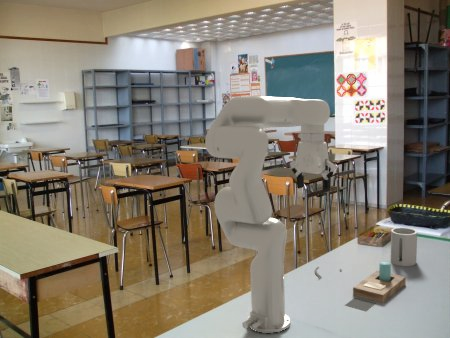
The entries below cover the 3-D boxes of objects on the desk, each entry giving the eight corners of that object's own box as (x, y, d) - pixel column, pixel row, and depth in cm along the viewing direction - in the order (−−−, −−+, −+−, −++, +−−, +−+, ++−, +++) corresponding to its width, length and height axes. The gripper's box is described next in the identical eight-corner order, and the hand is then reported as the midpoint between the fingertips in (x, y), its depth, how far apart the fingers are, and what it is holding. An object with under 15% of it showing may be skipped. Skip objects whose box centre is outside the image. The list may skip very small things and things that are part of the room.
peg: (387, 289, 165) (388, 266, 164) (377, 287, 168) (377, 264, 166) (392, 286, 168) (392, 263, 167) (381, 283, 170) (382, 261, 169)
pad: (366, 313, 150) (366, 311, 150) (344, 307, 154) (344, 305, 154) (376, 304, 155) (376, 302, 155) (355, 299, 159) (355, 297, 159)
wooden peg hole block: (382, 304, 155) (383, 294, 155) (353, 296, 162) (353, 286, 161) (405, 285, 168) (405, 276, 168) (377, 278, 175) (377, 269, 174)
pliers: (341, 266, 186) (344, 288, 167) (341, 269, 186) (344, 290, 167) (314, 266, 188) (314, 287, 168) (314, 268, 188) (315, 290, 168)
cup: (412, 257, 194) (413, 227, 192) (419, 266, 185) (420, 234, 183) (388, 257, 195) (388, 227, 193) (393, 266, 186) (394, 234, 184)
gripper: (283, 138, 166) (284, 188, 169) (330, 140, 155) (330, 194, 158) (296, 135, 172) (297, 184, 175) (342, 137, 161) (342, 190, 164)
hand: (313, 189), depth 166 cm, fingers open, 9 cm apart
